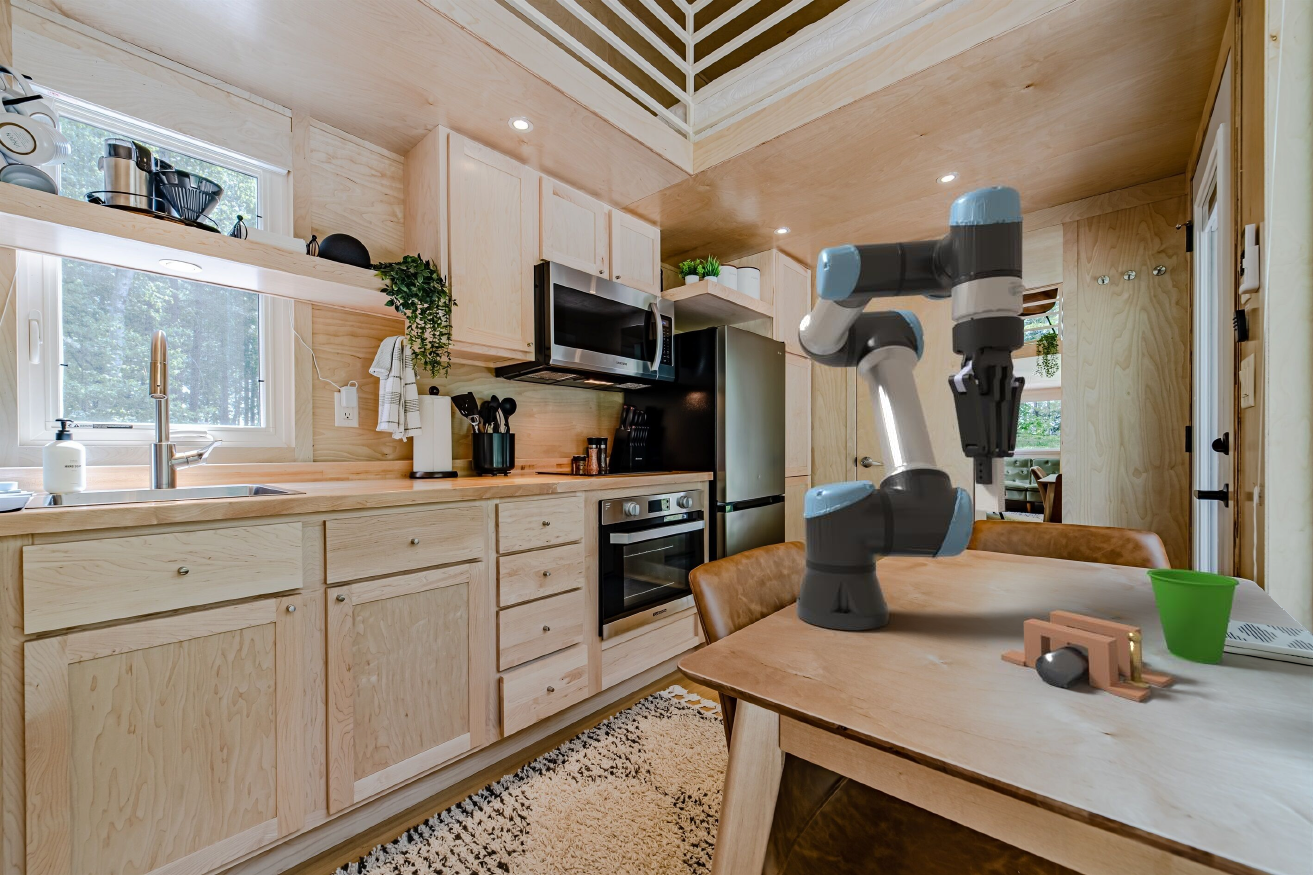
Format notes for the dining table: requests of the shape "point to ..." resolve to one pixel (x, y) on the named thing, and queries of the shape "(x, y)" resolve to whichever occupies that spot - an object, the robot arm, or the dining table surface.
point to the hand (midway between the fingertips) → (990, 510)
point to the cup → (1193, 612)
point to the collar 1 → (1099, 646)
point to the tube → (1065, 665)
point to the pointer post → (1135, 661)
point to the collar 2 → (1109, 629)
